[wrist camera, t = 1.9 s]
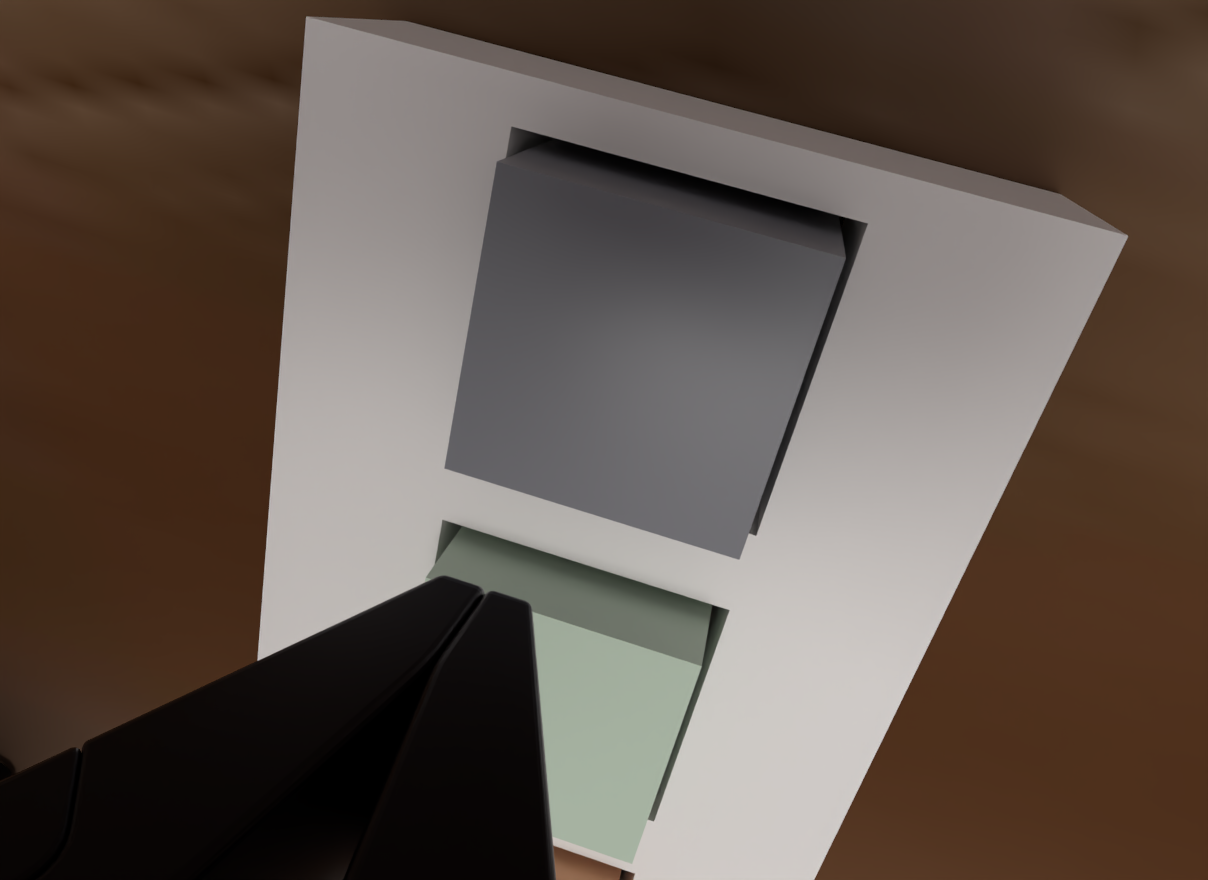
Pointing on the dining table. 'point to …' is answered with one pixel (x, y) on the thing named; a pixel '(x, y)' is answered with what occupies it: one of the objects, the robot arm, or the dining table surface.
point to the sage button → (596, 681)
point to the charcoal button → (639, 340)
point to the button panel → (805, 456)
